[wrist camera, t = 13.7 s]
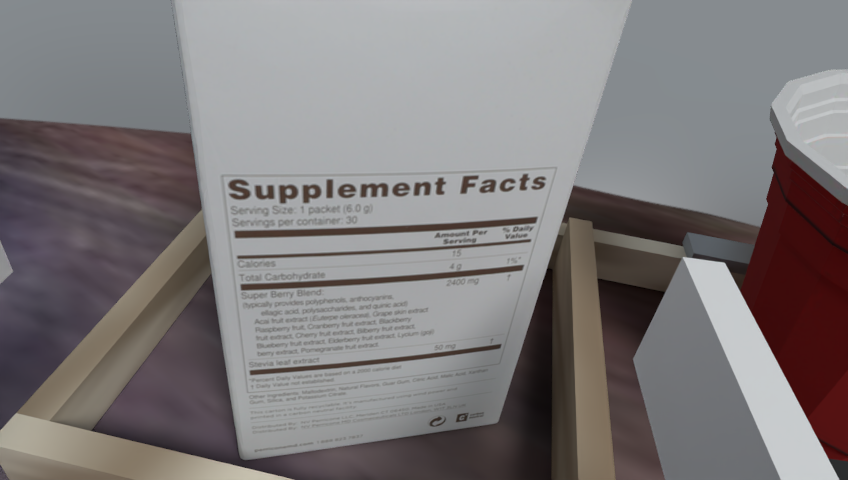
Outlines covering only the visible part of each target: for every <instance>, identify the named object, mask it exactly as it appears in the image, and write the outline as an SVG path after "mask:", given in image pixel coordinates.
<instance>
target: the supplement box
mask: <svg viewBox="0 0 848 480" xmlns="http://www.w3.org/2000/svg"><path fill="white" fill-rule="evenodd" d="M631 3H632V0H171V4H172V11H173V18H174V24H175V30H176V37H177V44H178V50H179V56H180V62H181V69H182V75H183V82H184V89H185V96H186V103H187V110H188V116H189V123H190V129H191V137H192V143H193V150H194V157H195V164H196V170H197V177H198V184H199V192H200V198H201V205H202V211H203V218H204V224H205V231H206V237H207V244H208V251H209V258H210V265H211V272H212V279H213V286H214V292H215V299H216V306H217V313H218V320H219V326H220V333H221V339H222V346H223V352H224V359H225V366H226V372H227V378H228V384H229V391H230V397H231V404H232V410H233V417H234V424H235V429H236V436H237V443H238V452H239V456H240V458H241V459H243V460H251V459H259V458H266V457H273V456H280V455H287V454H294V453H301V452H307V451H314V450H321V449H327V448H334V447H341V446H348V445H355V444H362V443H369V442H376V441H383V440H389V439H396V438H402V437H409V436H416V435H422V434H429V433H436V432H442V431H449V430H456V429H463V428H469V427H476V426H483V425H489V424H495V423H497V422H498V421H499V418H500V415H501V412H502V409H503V405H504V402H505V399H506V396H507V393H508V390H509V386H510V383H511V380H512V377H513V373H514V370H515V367H516V364H517V361H518V358H519V355H520V352H521V349H522V345H523V342H524V339H525V336H526V333H527V330H528V326H529V323H530V320H531V317H532V314H533V311H534V307H535V304H536V301H537V298H538V295H539V292H540V288H541V285H542V282H543V279H544V276H545V273H546V270H547V266H548V263H549V260H550V257H551V254H552V251H553V248H554V244H555V241H556V238H557V235H558V232H559V229H560V225H561V222H562V219H563V216H564V213H565V210H566V207H567V203H568V200H569V197H570V194H571V191H572V188H573V185H574V181H575V178H576V175H577V172H578V168H579V166H580V163H581V159H582V156H583V153H584V150H585V147H586V144H587V141H588V138H589V135H590V131H591V129H592V125H593V122H594V119H595V116H596V113H597V110H598V106H599V103H600V100H601V97H602V94H603V91H604V88H605V85H606V81H607V78H608V75H609V72H610V69H611V66H612V63H613V60H614V56H615V53H616V50H617V47H618V44H619V41H620V38H621V35H622V31H623V28H624V25H625V22H626V19H627V16H628V12H629V9H630V6H631Z"/></svg>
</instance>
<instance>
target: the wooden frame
mask: <svg viewBox="0 0 848 480" xmlns="http://www.w3.org/2000/svg"><path fill="white" fill-rule="evenodd" d="M682 243H683V246H679V245H673V244H668V243H663V242H658V241H653V240H648V239H642V238H637V237H632V236H627V235H622V234H617V233H612V232H606V231H601V230H596V229H593V226H592V222H591V221H586V220H581V219H576V218H570V217H569V220H568V223H567V224H565V223H561V225H560V229H559V232H558V235H557V238H556V241H555V244H554V248H553V251H552V254H551V257H550V260H549V263H548V266H547V268H549V269H553V318H552V463H551V480H615V469H614V458H613V447H612V436H611V425H610V414H609V403H608V392H607V381H606V370H605V359H604V348H603V337H602V325H601V314H600V303H599V292H598V281H597V278H599V279H604V280H609V281H614V282H619V283H624V284H629V285H634V286H639V287H644V288H649V289H654V290H658V291H663V292H666V290H667V288H668V286H669V284H670V282H671V280H672V278H673V276H674V274H675V272H676V270H677V268H678V266H679V263H680V261H681V259H682V257H687V258H694V259H701V260H708V261H715V262H723V263H725V264H726V266H727V268H728V270H729V272H730V274H731V275H732V277H733V279H734V281H735V283H736V285H737V287H738V289H739V291H740V290H741V287H742V284H743V281H744V278H745V275H746V271H747V268H748V265H749V262H750V259H751V256H752V253H753V250H754V247H755V245H751V244H746V243H741V242H736V241H730V240H725V239H720V238H715V237H710V236H704V235H699V234H694V233H689V232H687V234H686V236H685V238H684V240H683V242H682ZM211 273H212V272H211V265H210V258H209V251H208V244H207V237H206V231H205V224H204V218H203V211H202V210H201V211H200V212H199V213H198V214H197V215H196V216H195V217H194V218H193V220H192V221H191V222H190V223H189V224H188V225H187V226H186V227H185V228H184V229H183V231H182V232H181V233H180V234H179V235H178V236H177V237H176V238H175V239H174V240H173V242H172V243H171V244H170V245H169V246H168V247H167V248H166V249H165V250H164V251H163V253H162V254H161V255H160V256H159V257H158V258H157V259H156V260H155V261H154V262H153V263H152V265H151V266H150V267H149V268H148V269H147V270H146V271H145V272H144V273H143V274H142V276H141V277H140V278H139V279H138V280H137V281H136V282H135V283H134V284H133V285H132V287H131V288H130V289H129V290H128V291H127V292H126V293H125V294H124V295H123V296H122V298H121V299H120V300H119V301H118V302H117V303H116V304H115V305H114V306H113V307H112V308H111V310H110V311H109V312H108V313H107V314H106V315H105V316H104V317H103V318H102V319H101V321H100V322H99V323H98V324H97V325H96V326H95V327H94V328H93V329H92V330H91V332H90V333H89V334H88V335H87V336H86V337H85V338H84V339H83V340H82V341H81V343H80V344H79V345H78V346H77V347H76V348H75V349H74V350H73V351H72V352H71V353H70V355H69V356H68V357H67V358H66V359H65V360H64V361H63V362H62V363H61V364H60V366H59V367H58V368H57V369H56V370H55V371H54V372H53V373H52V374H51V375H50V377H49V378H48V379H47V380H46V381H45V382H44V383H43V384H42V385H41V386H40V388H39V389H38V390H37V391H36V392H35V393H34V394H33V395H32V396H31V397H30V398H29V400H28V401H27V402H26V403H25V404H24V405H23V406H22V407H21V408H20V409H19V411H18V412H17V413H16V414H15V415H14V416H13V417H12V418H11V419H10V420H9V422H8V423H7V424H6V425H5V426H4V427H3V428H2V429H1V430H0V465H1V466H2V468H3V470H4V471H5V473H6V475H7V477H8V478H9V480H293V479H289V478H285V477H281V476H277V475H273V474H268V473H264V472H260V471H256V470H252V469H248V468H243V467H239V466H235V465H231V464H227V463H222V462H218V461H214V460H210V459H206V458H202V457H197V456H193V455H189V454H185V453H181V452H177V451H172V450H168V449H164V448H160V447H156V446H151V445H147V444H143V443H139V442H135V441H131V440H126V439H122V438H118V437H114V436H110V435H105V434H101V433H97V432H93V431H92V429H93V428H94V427H95V425H96V424H97V423H98V421H99V420H100V419H101V417H102V416H103V415H104V414H105V412H106V411H107V410H108V408H109V407H110V406H111V404H112V403H113V402H114V400H115V399H116V398H117V396H118V395H119V394H120V393H121V391H122V390H123V389H124V387H125V386H126V385H127V383H128V382H129V381H130V379H131V378H132V377H133V375H134V374H135V373H136V372H137V370H138V369H139V368H140V366H141V365H142V364H143V362H144V361H145V360H146V358H147V357H148V356H149V354H150V353H151V352H152V350H153V349H154V348H155V347H156V345H157V344H158V343H159V341H160V340H161V339H162V337H163V336H164V335H165V333H166V332H167V331H168V329H169V328H170V327H171V326H172V324H173V323H174V322H175V320H176V319H177V318H178V316H179V315H180V314H181V312H182V311H183V310H184V308H185V307H186V306H187V305H188V303H189V302H190V301H191V299H192V298H193V297H194V295H195V294H196V293H197V291H198V290H199V289H200V287H201V286H202V285H203V284H204V282H205V281H206V280H207V278H208V277H209V276H210V274H211Z"/></svg>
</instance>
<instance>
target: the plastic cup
mask: <svg viewBox="0 0 848 480" xmlns="http://www.w3.org/2000/svg"><path fill="white" fill-rule="evenodd" d="M770 121H771V123H772V126H773V128H774V130H775V134H776V137H777V138H776V142H775V146H776V148H777V150H776V154H775V158H774V161H773V165H772V169H773V172H774V174H773V177H772V181H771V184H770V188H769V191H768V195H767V198H766V199H767V202H768V207H767V209H766V212H765V215H764V219H763V222H762V225H761V228H760V231H759V234H758V237H757V240H756V243H755V247H754V250H753V253H752V256H751V259H750V262H749V265H748V268H747V271H746V275H745V278H744V281H743V284H742V287H741V290H740V293H741V294H742V296H743V298H744V300H745V302H746V304H747V306H748V308H749V310H750V311H751V313H752V315H753V317H754V319H755V321H756V323H757V325H758V327H759V328H760V330H761V332H762V334H763V336H764V338H765V340H766V342H767V344H768V346H769V347H770V349H771V351H772V353H773V355H774V357H775V359H776V361H777V363H778V364H779V366H780V368H781V370H782V372H783V374H784V376H785V378H786V380H787V382H788V383H789V385H790V387H791V389H792V391H793V393H794V395H795V397H796V399H797V400H798V402H799V404H800V406H801V408H802V410H803V412H804V414H805V416H806V417H807V419H808V421H809V423H810V425H811V427H812V429H813V431H814V433H815V435H816V436H817V438H818V440H819V442H820V444H821V446H822V448H823V450H824V452H825V453H826V455H827V457H828V459H835V460H842V461H848V70H828V71H824V72H820V73H817V74H813V75H810V76H806V77H802V78H799V79H796V80H792V81H788V82H787V84H786V85H785V87H784V88H783V89H782V91H781V92H780V93H779V95H778V96H777V97H776V99H775V100H774V101H773V103H772V104H771V112H770Z"/></svg>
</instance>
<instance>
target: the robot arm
mask: <svg viewBox="0 0 848 480" xmlns="http://www.w3.org/2000/svg"><path fill="white" fill-rule="evenodd" d="M12 272H13V270H12V268H11V265H10V263H9V260H8V258H7V256H6V253H5V251H4V249H3V246H2V244H1V241H0V284H1V283H2V282H3V281H4V280H5V279H6V278H7V277H8V276H9V275H10V274H11V273H12ZM633 361H634V365H635V369H636V372H637V376H638V380H639V384H640V387H641V391H642V395H643V399H644V402H645V406H646V410H647V414H648V417H649V421H650V425H651V429H652V432H653V436H654V440H655V444H656V447H657V451H658V455H659V459H660V462H661V466H662V470H663V474H664V477H665V480H848V461H842V460H835V459H828V457H827V455H826V453H825V452H824V450H823V448H822V446H821V444H820V442H819V440H818V438H817V436H816V435H815V433H814V431H813V429H812V427H811V425H810V423H809V421H808V419H807V417H806V416H805V414H804V412H803V410H802V408H801V406H800V404H799V402H798V400H797V399H796V397H795V395H794V393H793V391H792V389H791V387H790V385H789V383H788V382H787V380H786V378H785V376H784V374H783V372H782V370H781V368H780V366H779V364H778V363H777V361H776V359H775V357H774V355H773V353H772V351H771V349H770V347H769V346H768V344H767V342H766V340H765V338H764V336H763V334H762V332H761V330H760V328H759V327H758V325H757V323H756V321H755V319H754V317H753V315H752V313H751V311H750V310H749V308H748V306H747V304H746V302H745V300H744V298H743V296H742V294H741V293H740V291H739V289H738V287H737V285H736V283H735V281H734V279H733V277H732V275H731V274H730V272H729V270H728V268H727V266H726V264H725V263H723V262H715V261H708V260H701V259H694V258H687V257H682V259H681V261H680V263H679V266H678V268H677V270H676V272H675V274H674V276H673V278H672V280H671V282H670V284H669V286H668V288H667V290H666V292H665V294H664V296H663V298H662V300H661V303H660V305H659V307H658V309H657V311H656V313H655V315H654V317H653V319H652V321H651V323H650V325H649V327H648V329H647V331H646V333H645V335H644V337H643V340H642V342H641V344H640V346H639V348H638V350H637V352H636V354H635V356H634V358H633Z"/></svg>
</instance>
